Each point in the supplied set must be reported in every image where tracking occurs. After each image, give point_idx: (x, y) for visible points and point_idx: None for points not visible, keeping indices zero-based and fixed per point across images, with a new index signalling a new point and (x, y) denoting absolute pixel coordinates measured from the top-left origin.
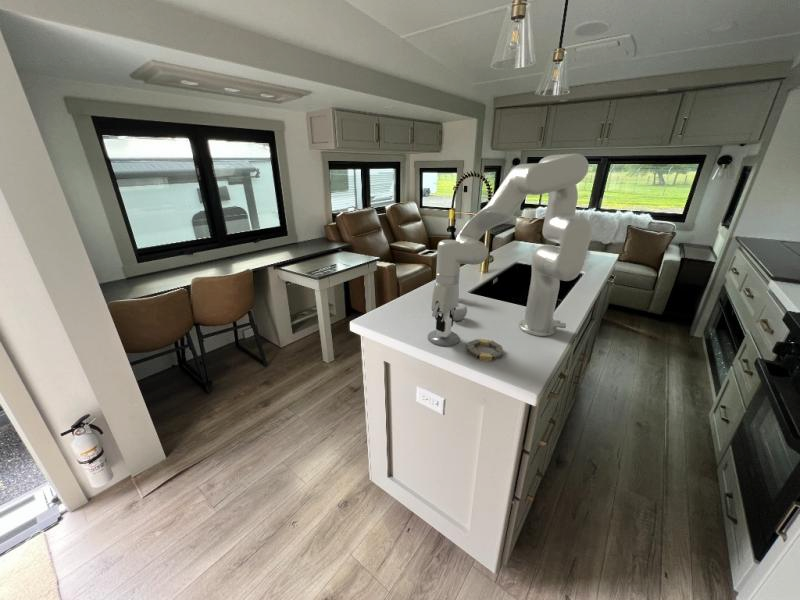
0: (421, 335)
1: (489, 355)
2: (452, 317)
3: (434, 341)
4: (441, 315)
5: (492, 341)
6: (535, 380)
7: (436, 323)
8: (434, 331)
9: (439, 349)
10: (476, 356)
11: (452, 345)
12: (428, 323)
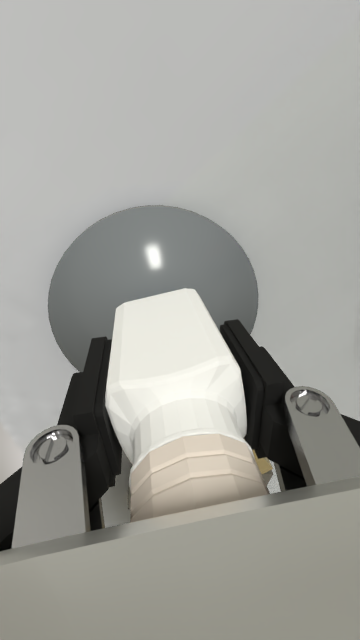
0: (59, 169)
1: None
2: (255, 451)
3: (64, 322)
4: (129, 480)
5: (267, 477)
6: None
7: (83, 376)
8: (176, 222)
9: (43, 377)
10: (128, 495)
11: None
12: (291, 33)
